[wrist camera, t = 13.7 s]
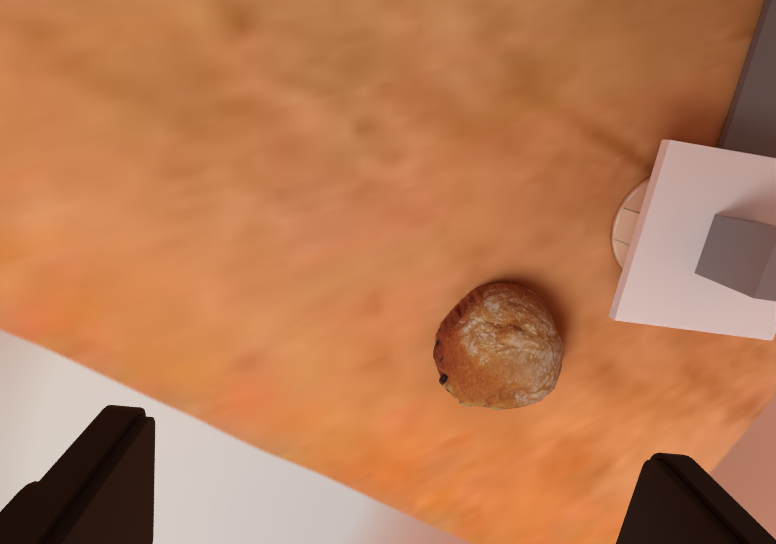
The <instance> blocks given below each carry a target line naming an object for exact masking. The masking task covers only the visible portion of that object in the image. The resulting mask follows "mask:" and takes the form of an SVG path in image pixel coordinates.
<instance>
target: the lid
mask: <svg viewBox="0 0 776 544" xmlns="http://www.w3.org/2000/svg"><path fill="white" fill-rule="evenodd" d="M609 317H611V318H612V319H614V320H617V321H624V322H632V323H640V324H648V325H655V326H663V327H671V328H679V329H687V330H694V331H702V332H710V333H718V334H725V335H733V336H741V337H749V338H757V339H764V340H772V341H773V339H774V336H775V334H776V158H771V157H765V156H760V155H754V154H748V153H743V152H737V151H731V150H725V149H720V148H714V147H708V146H703V145H697V144H691V143H685V142H680V141H674V140H662V141H661V145H660V148H659V151H658V155H657V158H656V161H655V165H654V168H653V171H652V174H651V178H650V181H649V184H648V188H647V191H646V194H645V197H644V201H643V204H642V207H641V211H640V214H639V217H638V221H637V224H636V227H635V230H634V234H633V237H632V240H631V244H630V247H629V250H628V253H627V257H626V260H625V263H624V267H623V270H622V273H621V277H620V280H619V283H618V286H617V290H616V293H615V296H614V300H613V303H612V306H611V310H610V313H609Z"/></svg>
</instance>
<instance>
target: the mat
mask: <svg viewBox="0 0 776 544" xmlns="http://www.w3.org/2000/svg"><path fill="white" fill-rule="evenodd" d="M717 148H720V149H725V150H731V151H737V152H743V153H748V154H754V155H760V156H765V157H771V158H776V0H765V2H764V5H763V8H762V11H761V14H760V17H759V20H758V24H757V27H756V30H755V33H754V36H753V39H752V42H751V45H750V48H749V51H748V54H747V57H746V60H745V64H744V67H743V70H742V73H741V76H740V79H739V82H738V85H737V88H736V91H735V94H734V97H733V100H732V104H731V107H730V110H729V113H728V116H727V119H726V122H725V125H724V128H723V131H722V134H721V137H720V140H719V144H718V147H717Z"/></svg>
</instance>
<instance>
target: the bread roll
mask: <svg viewBox="0 0 776 544" xmlns="http://www.w3.org/2000/svg"><path fill="white" fill-rule="evenodd" d="M435 340H436V343H435V347H434V353H433V358H434V359H435V363H436V366H437V369H438V372H439V374H440V376H441V377H440V379H439V382H440V383H441V385H442V386H444V387H445V388H446V390H447V391H448V392H450V393H451V394H452V396H453V398H456V397H457V398H458V399H459V403H460V404H462V405H463V406H466V407H475V406H480V407H485V408H491V409H494V410H502V409H512V408H519V407H524V406H527V405H530V404H533V403H536V402H538V401H540V400H542V399H543V398H544V397H545V396H547V395H548V394H549V393H550V392H551V391H552V390H553V389H554V388H555V386H556V383H557V380H558V378H559V375H560V371H561V368H562V364H561V363H562V359H563V354H564V349H565V347H564V346H563V344H562V341H561V337H560V335H558V332H557V330H556V328H555V323H554V322H553V318H552V317H551V315H550V312H549V310H548V308H547V306H546V304H545V302H544V301H543V300H542V299H541V298H540V297H539V296H538V295H537V294H536V293H534V292H533V291H531V290H530V289H528V288H526V287H524V286H522V285H518V284H513V283H495V284H489V285H485V286H481V287H479V288H476V289H475V290H473V291H471V292H470V293H469V294H467V296H466V297H465V298H463V299H462V300H461V301H460V303H459V304H458V305H456V306H455V307H454V308H453V310H452V311H451V312H450V313H449V314H448V315H447V317H446V318H445V319H444V320H443V322H442V323H441V325H440V328H439V330H438V331H437V333H436V339H435Z"/></svg>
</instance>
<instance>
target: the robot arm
mask: <svg viewBox="0 0 776 544" xmlns="http://www.w3.org/2000/svg"><path fill="white" fill-rule="evenodd" d="M154 461H155V420H154V418H153V417H146V414H145V410H144V409H143V408H139V407H127V406H116V405H109V406H106V407H105V408H104V409H103V410H102V411H101V412H100V413H99V415H98V416H97V417H96V418H95V419H94V420H93V421H92V422H91V423H90V425H89V426H88V427H87V428H86V429H85V430H84V431H83V432H82V434H81V435H80V436H79V437H78V438H77V439H76V440H75V441H74V443H73V444H72V445H71V446H70V447H69V448H68V450H66V452H65V453H64V454H63V455H62V456H61V457H60V458H59V459H58V461H57V462H56V463H55V464H54V465H53V466H52V467H51V469H50V470H49V471H48V472H47V473H46V474H45V475H44V476H43V478H42V479H41V480H40V481H39V482H37V481H34V482H32V483H29V484H27V485H26V486H25V487H24V488H23V489H21V490H20V491H19V492H18V493H17V494H16V495H15V496H14V498H13V499H12V500H11V501H10V502H9V503H8V504H7V505H6V506H5V507H4V508H3V509H2V511H1V512H0V544H152V543H153V521H154V520H153V519H154V463H155V462H154ZM616 544H776V540H775V539H774V538H773V537H772V536H771V535H770V534H769V533H768V532H767V531H766V530H765V529H764V528H763V527H762V526H761V525H760V524H759V523H758V522H757V521H756V520H755V519H754V518H753V517H752V516H751V515H749V513H748V512H747V511H745V509H743V507H741V506H740V505H739V504H738V503H737V502H736V501H735V500H734V499H733V498H732V497H731V496H730V495H729V494H728V493H727V492H726V491H725V490H724V489H723V488H722V487H721V486H720V485H719V484H718V483H717V482H716V481H715V480H713V478H712V477H711V476H710V475H709V474H708V473H707V472H706V471H705V470H704V469H703V468H701V467H700V466H699V465H698V464H697V463H696V462H695V461H694V460H693V459H692V458H690V457H689V456H686V455H679V454H667V453H656V454H654V455H653V456H652V457H651V459H650V460H647V461H646V462H645V463H644V464H643V467H642V469H641V472H640V475H639V478H638V481H637V484H636V487H635V490H634V493H633V496H632V498H631V501H630V504H629V507H628V510H627V513H626V516H625V519H624V522H623V525H622V528H621V530H620V533H619V536H618V539H617V542H616Z"/></svg>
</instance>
